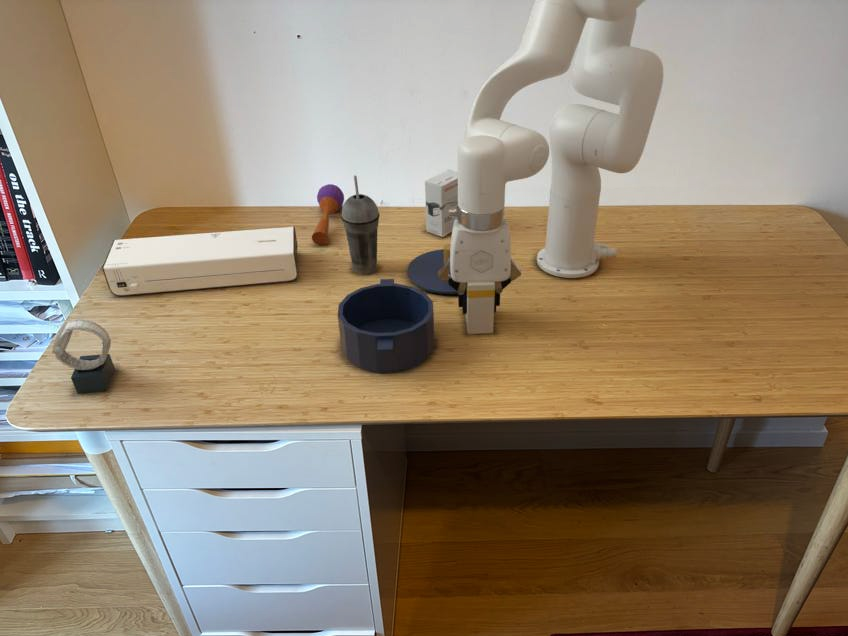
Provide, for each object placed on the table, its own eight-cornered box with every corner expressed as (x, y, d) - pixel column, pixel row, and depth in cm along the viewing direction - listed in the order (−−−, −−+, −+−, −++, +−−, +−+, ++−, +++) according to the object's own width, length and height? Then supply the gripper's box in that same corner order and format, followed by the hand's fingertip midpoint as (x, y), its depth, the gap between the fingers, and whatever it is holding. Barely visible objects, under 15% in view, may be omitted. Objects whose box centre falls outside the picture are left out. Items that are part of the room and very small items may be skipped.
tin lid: (487, 252, 149) (488, 226, 145) (496, 295, 135) (497, 267, 132) (407, 254, 147) (406, 227, 144) (407, 298, 134) (406, 269, 130)
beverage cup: (386, 261, 145) (380, 166, 133) (379, 279, 139) (371, 182, 127) (351, 258, 145) (342, 164, 133) (342, 276, 140) (331, 180, 128)
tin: (431, 309, 131) (431, 274, 127) (436, 381, 115) (435, 343, 110) (346, 312, 130) (342, 276, 125) (338, 385, 113) (333, 347, 109)
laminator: (298, 253, 147) (294, 225, 143) (299, 283, 137) (294, 255, 133) (122, 267, 141) (113, 239, 137) (110, 300, 131) (100, 271, 128)
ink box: (448, 217, 161) (448, 167, 154) (466, 223, 159) (466, 173, 152) (424, 231, 155) (423, 180, 148) (442, 238, 153) (442, 186, 146)
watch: (73, 372, 115) (49, 315, 108) (126, 368, 116) (106, 311, 109) (63, 394, 110) (38, 337, 103) (118, 390, 111) (97, 332, 105)
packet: (489, 309, 131) (490, 262, 125) (493, 333, 125) (495, 284, 119) (464, 310, 131) (464, 262, 125) (467, 334, 125) (468, 285, 119)
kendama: (301, 228, 147) (315, 181, 162) (310, 252, 151) (323, 204, 166) (329, 224, 146) (341, 177, 161) (338, 248, 150) (348, 200, 165)
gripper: (429, 227, 112) (432, 322, 123) (535, 224, 113) (529, 319, 124) (427, 206, 118) (430, 299, 129) (529, 203, 119) (523, 296, 130)
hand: (478, 308), depth 127 cm, fingers closed on packet, 4 cm apart
